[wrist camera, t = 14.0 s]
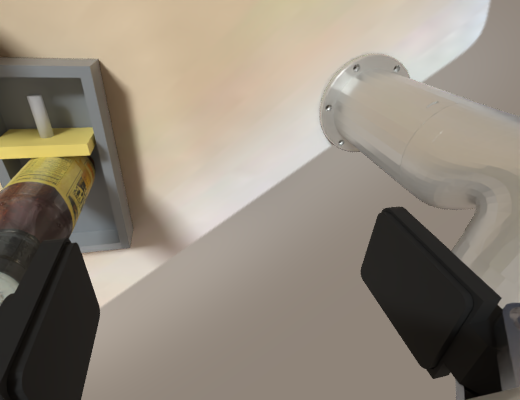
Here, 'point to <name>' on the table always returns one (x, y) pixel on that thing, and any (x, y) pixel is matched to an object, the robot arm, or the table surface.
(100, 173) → the grey tray
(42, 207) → the sauce bottle
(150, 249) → the table surface
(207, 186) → the table surface
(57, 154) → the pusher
